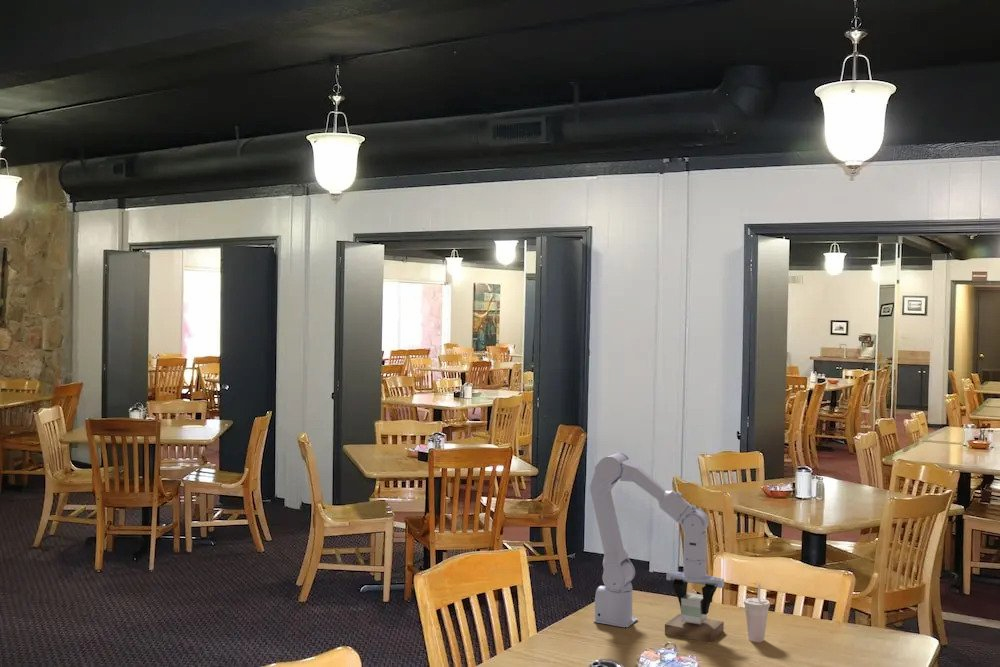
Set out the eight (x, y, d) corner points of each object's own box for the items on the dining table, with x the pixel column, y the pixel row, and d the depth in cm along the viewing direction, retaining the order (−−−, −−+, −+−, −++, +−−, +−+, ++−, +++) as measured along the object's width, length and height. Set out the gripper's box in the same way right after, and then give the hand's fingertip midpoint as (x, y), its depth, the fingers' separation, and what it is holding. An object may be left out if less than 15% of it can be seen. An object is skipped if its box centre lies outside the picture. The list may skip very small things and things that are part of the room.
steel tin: (681, 621, 246) (681, 598, 245) (687, 615, 250) (687, 592, 250) (700, 624, 243) (700, 601, 243) (706, 618, 248) (706, 595, 247)
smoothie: (770, 644, 238) (771, 588, 238) (743, 643, 239) (744, 586, 239) (768, 636, 244) (769, 581, 244) (742, 634, 246) (743, 579, 245)
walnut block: (664, 636, 246) (664, 624, 246) (678, 625, 254) (679, 613, 254) (710, 644, 240) (710, 632, 239) (723, 633, 248) (723, 621, 248)
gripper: (662, 558, 247) (661, 611, 247) (718, 565, 239) (717, 620, 240) (672, 552, 253) (671, 604, 253) (726, 559, 246) (726, 613, 246)
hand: (694, 611), depth 247 cm, fingers open, 5 cm apart
